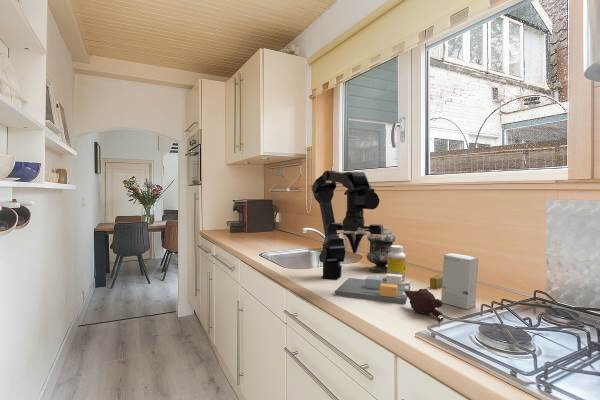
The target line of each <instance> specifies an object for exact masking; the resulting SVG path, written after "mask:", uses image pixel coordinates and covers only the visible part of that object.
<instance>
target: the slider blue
mask: <svg viewBox="0 0 600 400" xmlns="http://www.w3.org/2000/svg"><path fill="white" fill-rule="evenodd" d="M365 280H366V288H374V289H380V285H381V283H382V281H383V277H380V276H379V277H378V276H377V277H376V276H366V278H365Z"/></svg>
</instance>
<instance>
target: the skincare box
mask: <svg viewBox="0 0 600 400" xmlns="http://www.w3.org/2000/svg"><path fill="white" fill-rule="evenodd" d="M442 266H443V267H442V274H443V280H442V288H441V298H440V299H441V301H442V304H446V305H450V306H454V307H457V308H461V309H464V310H469V309H472V308H474V307H476V306H477V288H478V276H479V275H478V274H479V257H476V256H472V255H466V254H460V253H447V254H443V265H442Z"/></svg>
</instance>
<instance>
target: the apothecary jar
mask: <svg viewBox="0 0 600 400" xmlns="http://www.w3.org/2000/svg"><path fill="white" fill-rule="evenodd" d="M392 231H393V230H392V229H391V228H385V227H383V233H382V234H371V233H370V232H369V233H368V234H367V237H366V238H367V241H368V242H369V252H368V253H367V254H366V259H367V261H368V262H370V263H371V264H374V265H373V266H371V267H370V268H368V270H369V271H370V272H373V273H378V274H379V273H382V274H384V273H385V274H388V253H389V252H391V249H390V246H393V243H394V242H395V241H396V236H395V234H393V232H392Z"/></svg>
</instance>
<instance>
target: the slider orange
mask: <svg viewBox="0 0 600 400" xmlns="http://www.w3.org/2000/svg"><path fill="white" fill-rule="evenodd" d="M397 295H398V285H395V284H386V283H381V285H380V296H389V297H397Z"/></svg>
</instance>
